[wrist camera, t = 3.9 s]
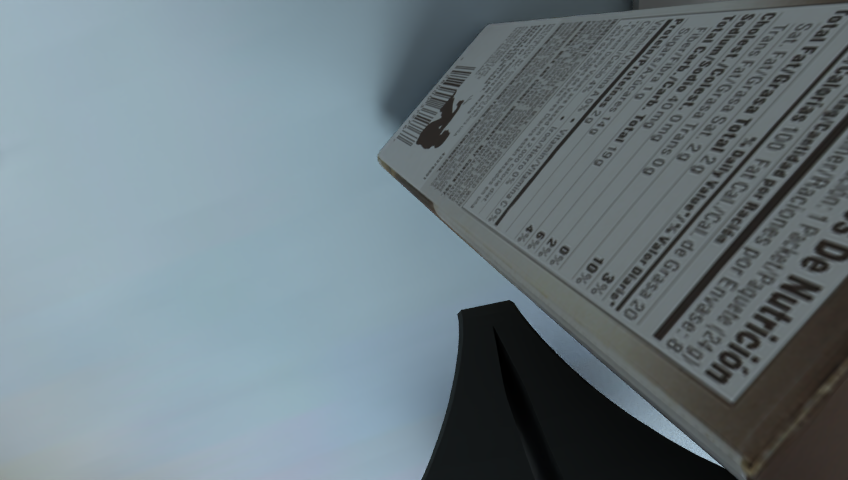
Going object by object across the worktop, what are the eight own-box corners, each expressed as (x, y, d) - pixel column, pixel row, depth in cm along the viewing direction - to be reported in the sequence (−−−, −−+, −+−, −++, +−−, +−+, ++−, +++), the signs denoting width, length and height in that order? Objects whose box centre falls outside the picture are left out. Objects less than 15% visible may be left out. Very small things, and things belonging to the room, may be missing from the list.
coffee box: (632, 177, 23) (1322, 410, 8) (529, 296, 23) (1019, 719, 9) (487, 13, 19) (1321, -96, 4) (366, 158, 19) (762, 509, 5)
